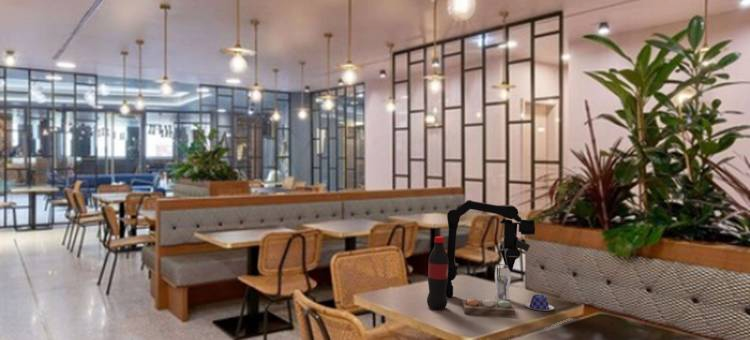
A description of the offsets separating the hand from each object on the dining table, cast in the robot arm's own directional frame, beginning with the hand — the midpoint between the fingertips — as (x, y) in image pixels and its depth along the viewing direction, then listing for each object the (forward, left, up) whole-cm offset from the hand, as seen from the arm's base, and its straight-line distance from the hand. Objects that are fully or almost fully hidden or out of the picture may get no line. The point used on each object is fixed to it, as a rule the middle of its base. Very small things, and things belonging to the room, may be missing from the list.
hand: (508, 268), depth 237 cm
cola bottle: (-32, -18, -15) cm, 39 cm away
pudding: (+12, -8, -15) cm, 21 cm away
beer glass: (-2, +2, -14) cm, 15 cm away
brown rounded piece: (-17, -18, -13) cm, 28 cm away
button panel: (-11, -18, -14) cm, 25 cm away
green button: (-4, -18, -13) cm, 22 cm away
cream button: (-11, -18, -13) cm, 24 cm away
